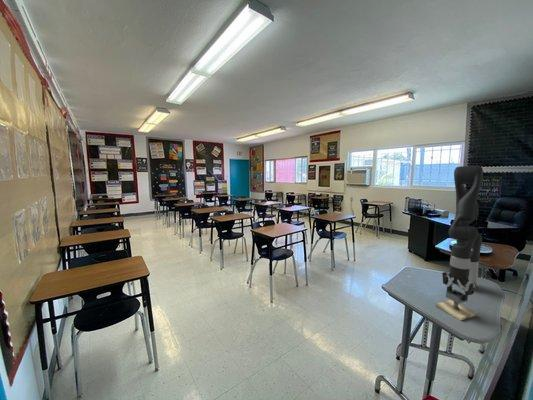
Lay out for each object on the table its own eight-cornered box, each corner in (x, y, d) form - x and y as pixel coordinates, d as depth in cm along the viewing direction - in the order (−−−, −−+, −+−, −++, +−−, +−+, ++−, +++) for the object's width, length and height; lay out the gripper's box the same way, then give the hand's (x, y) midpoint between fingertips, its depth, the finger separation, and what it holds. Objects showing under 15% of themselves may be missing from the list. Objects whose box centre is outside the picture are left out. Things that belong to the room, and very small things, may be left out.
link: (454, 294, 117) (454, 289, 117) (467, 301, 111) (467, 295, 111) (445, 297, 115) (446, 291, 115) (458, 303, 110) (459, 297, 109)
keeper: (450, 301, 122) (451, 289, 121) (476, 315, 110) (478, 301, 109) (435, 305, 118) (436, 293, 117) (460, 320, 107) (462, 306, 106)
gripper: (482, 270, 105) (478, 303, 108) (449, 258, 119) (446, 288, 121) (471, 272, 103) (467, 306, 105) (439, 260, 117) (436, 291, 119)
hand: (456, 296), depth 113 cm, fingers closed on link, 6 cm apart
